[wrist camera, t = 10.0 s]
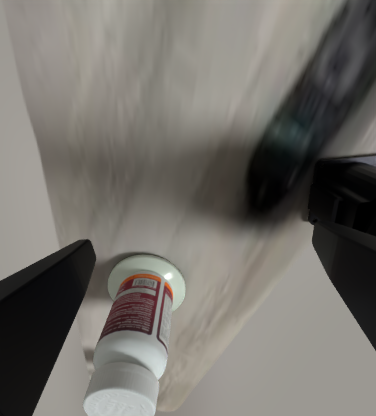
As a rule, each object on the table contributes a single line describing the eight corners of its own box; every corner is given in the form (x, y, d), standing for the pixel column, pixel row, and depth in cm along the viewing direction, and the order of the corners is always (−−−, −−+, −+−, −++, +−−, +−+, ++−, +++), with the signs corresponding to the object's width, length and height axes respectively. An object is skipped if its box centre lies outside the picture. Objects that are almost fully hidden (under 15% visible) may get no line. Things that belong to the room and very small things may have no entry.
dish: (181, 249, 25) (180, 255, 24) (189, 308, 29) (189, 315, 28) (102, 255, 26) (98, 261, 25) (120, 311, 29) (117, 319, 28)
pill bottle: (110, 288, 26) (56, 408, 16) (145, 259, 24) (110, 373, 14) (149, 316, 28) (124, 439, 18) (185, 290, 26) (180, 412, 16)
